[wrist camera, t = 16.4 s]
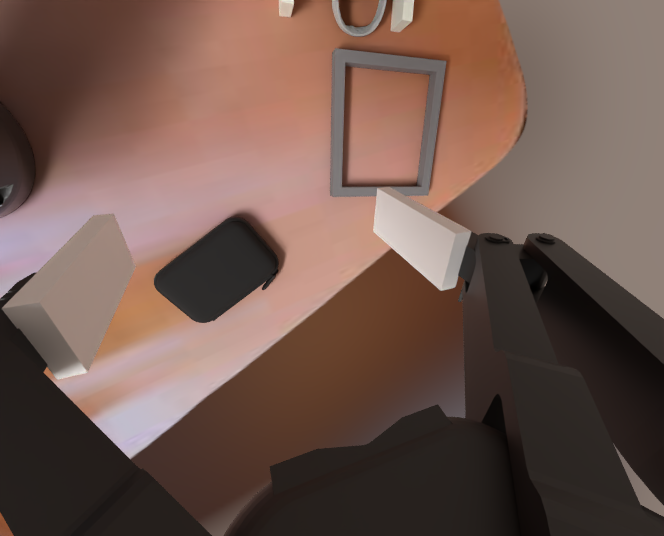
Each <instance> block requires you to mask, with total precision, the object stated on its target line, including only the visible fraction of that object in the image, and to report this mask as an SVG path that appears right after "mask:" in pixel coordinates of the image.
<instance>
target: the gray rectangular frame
mask: <svg viewBox="0 0 664 536" xmlns="http://www.w3.org/2000/svg"><path fill="white" fill-rule="evenodd" d="M345 66H348V67H358V68H368V69H378V70H388V71H398V72H407V73H417V74H427V75H430V78H429V87H428V95H427V103H426V111H425V120H424V128H423V136H422V145H421V153H420V161H419V169H418V178H417V186H342V161H343V126H344V91H345ZM445 69H446V61H441V60H433V59H424V58H415V57H407V56H398V55H389V54H381V53H372V52H363V51H355V50H346V49H337V48H335V50H334V51H333V52H332V102H331V172H330V196H332V197H356V196H377V188H383V187H390V188H392V189H394V190H396V191H398V192H400V193H401V194H403V195H405V196H424V195H428V193H429V186H430V178H431V171H432V164H433V156H434V149H435V142H436V134H437V127H438V120H439V113H440V105H441V98H442V91H443V83H444V76H445Z"/></svg>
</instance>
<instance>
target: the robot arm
mask: <svg viewBox="0 0 664 536" xmlns="http://www.w3.org/2000/svg"><path fill="white" fill-rule="evenodd" d="M34 178H35V163H34V157H33V153H32V150H31V147H30V144H29V142H28V140H27V137H26V136H25V134H24V132H23V130H22V129H21V127H20V125H19V124H18V123H17V121H16V120H15V118H14V117H13V116H12V115H11V113H10V112H9V111H8V110H7V109H6V108H5V107H4V106H3V105H2V104H1V103H0V218H1V217H3V216H5V215H7V214H9V213H11V212H13V211H14V210H16V209H17V208H18V207H19V206H20V205H21V204H22V203H23V202H24V201H25V200H26V198H27V197H28V195H29V193H30V192H31V189H32V187H33V183H34ZM373 232H374V233H375V234H377V235H378V236H379V237H380V238H381V239H382V240H383V241H385V242H386V243H387V244H388V245H389V246H390V247H391V248H393V249H394V250H395V251H396V252H397V253H398V254H399V255H401V256H402V257H403V258H404V259H405V260H406V261H408V262H409V263H410V264H411V265H412V266H413V267H414V268H415V269H417V270H418V271H419V272H420V273H421V274H422V275H424V276H425V277H426V278H427V279H428V280H429V281H430V282H432V283H433V284H434V285H435V286H436V287H438V289H440V290H441V291H442V290H446V289H450V288H455V286H456V283H457V279H458V276H460V277H461V278H463V279H464V280H465V281H464V284H463V287H462V290H461V294H460V297H459V300H458V301H459V302H461V300H462V299H463V333H464V371H465V410H466V416H465V418H460V417H446V415H445V414H444V412H443V411H442V410H441V408H440V407H439V405H435V406H432V407H429V408H427V409H424V410H421V411H419V412H416V413H413V414H411V415H408V416H405V417H402V418H401V419H400V420H398V421H397V422H396V423H395V424H393V425H392V426H391V427H390V428H388V429H387V430H386V431H384V432H383V433H382V434H381V435H379V436H378V437H377V438H375V439H374V440H373V441H372V442H370V443H369V444H367V445H362V446H349V447H337V448H324V449H316V450H313V451H310V452H308V453H305V454H303V455H300V456H297V457H294V458H291V459H289V460H286V461H283V462H281V463H278V464H275V465H273V466H270V471H271V478H272V482H271V483H270V484H268V485H267V486H265V487H264V488H263V489H261V490H260V491H259V492H258V493H257V494H256V495H255V496H254V497H253V498H252V499H251V500H250V501H249V502H248V503H247V504H246V505H245V506H244V508H243V509H242V510H241V511H240V512H239V514H238V515H237V516H236V518H235V519H234V520H233V522H232V523H231V524H230V526H229V528H228V529H227V531H226V533H225V534H224V536H664V517H663V516H661V515H659V514H657V513H655V512H653V511H651V510H649V509H648V508H646V507H644V506H642V505H640V503H639V501H638V498H637V496H636V494H635V492H634V489H633V487H632V485H631V483H630V480H629V478H628V476H627V474H626V472H625V469H624V467H623V465H622V462H621V460H620V458H619V456H618V454H617V452H616V449H615V447H614V445H615V446H616V448H617V449H618V450H619V452H620V453H621V455H622V456H623V457H624V459H625V460H626V461H627V463H628V464H629V465H630V467H631V468H632V469H633V471H634V472H635V473H636V474H637V475H638V476H639V478H640V479H641V480H642V481H643V482H644V484H645V485H646V486H647V487H648V488H649V490H650V491H651V492H652V493H653V494H654V495H655V497H656V498H657V499H658V500H659V501H660V502H661V503H662V504H663V505H664V319H663V318H662V317H660V316H659V315H658V314H656V313H655V312H654V311H653V310H651V309H650V308H649V307H647V306H646V305H645V304H643V303H642V302H641V301H640V300H638V299H637V298H636V297H634V296H633V295H632V294H631V293H629V292H628V291H627V290H625V289H624V288H623V287H621V286H620V285H619V284H618V283H616V282H615V281H614V280H612V279H611V278H610V277H609V276H607V275H606V274H605V273H603V272H602V271H601V270H599V269H598V268H597V267H596V266H594V265H593V264H592V263H590V262H589V261H588V260H587V259H585V258H584V257H582V256H581V255H580V254H579V253H577V252H576V251H575V250H574V249H572V248H571V247H570V246H568V245H567V244H566V243H565V242H563V241H562V240H560V239H558V238H556V237H553V236H552V235H549V234H545V233H543V234H539V233H538V234H537V233H535V234H529V235H528V236H527V238H526V241H525V243H524V244H521V245H520V244H513V242H512V241H511V240H510V239H509V238H507V237H504V236H502V235H499V234H494V233H492V234H491V233H484V234H480V235H477V234H475V233H473V232H471V231H470V230H468V229H466V228H465V227H463V226H461V225H459V224H457V223H455V222H453V221H451V220H450V219H448V218H446V217H444V216H442V215H440V214H439V213H437V212H435V211H433V210H431V209H429V208H427V207H426V206H424V205H422V204H420V203H418V202H416V201H414V200H413V199H411V198H409V197H407V196H405V195H403V194H401V193H400V192H398V191H396V190H394V189H392V188H390V187H383V188H377V197H376V208H375V219H374V230H373ZM135 267H136V266H135V263H134V261H133V258H132V256H131V254H130V251H129V249H128V247H127V244H126V242H125V239H124V237H123V235H122V232H121V230H120V228H119V225H118V223H117V220H116V218H115V216H114V214H106V215H96V216H93V217H92V218H91V219H90V220H89V221H88V222H87V223H86V224H85V225H84V226H83V227H82V228H81V229H80V230H79V231H78V232H77V233H76V234H75V235H74V236H73V237H72V238H71V239H70V240H69V241H68V242H67V243H66V244H65V245H64V246H63V247H62V248H61V249H60V250H59V251H58V252H57V253H56V254H55V255H54V256H53V257H52V258H51V259H50V260H49V261H48V262H47V263H46V264H45V265H44V266H43V267H42V268H41V269H40V270H39V271H38V272H37V273H33V274H31V275H29V276H27V277H26V278H24V279H22V280H20V281H19V282H17V283H16V284H15V285H14V286H13V287H12V288H11V289H10V290H9V291H8V293H6V294H5V295H4V296H3V297H2V298H1V299H0V512H1V514H2V516H3V517H4V519H5V521H6V523H7V525H8V526H9V528H10V530H11V532H12V533H13V535H14V536H212V535H211V534H210V533H209V532H207V530H206V529H205V528H204V527H203V526H202V525H201V524H200V523H198V521H196V520H195V519H194V518H193V517H192V516H191V515H190V514H189V513H188V512H187V511H186V510H185V509H184V508H183V507H182V506H181V505H180V504H179V503H178V502H177V501H176V500H175V499H174V498H173V497H172V496H171V495H170V494H169V493H168V492H167V491H166V490H165V489H164V488H163V487H162V486H161V485H160V484H159V483H158V482H157V481H156V480H155V479H154V478H153V477H152V476H151V475H150V474H149V473H148V472H146V471H145V470H144V469H140V468H138V467H137V466H136V465H135V464H134V463H133V462H132V461H131V460H130V459H129V458H128V457H127V456H126V455H125V454H124V453H123V452H122V451H121V450H120V449H119V448H118V447H117V446H116V445H115V444H114V443H113V442H112V441H111V440H110V439H109V438H108V437H107V436H106V435H105V434H104V433H103V432H102V431H101V430H100V429H99V428H98V427H97V426H96V425H95V424H94V423H93V422H92V421H91V420H90V419H89V418H88V417H87V416H86V415H85V414H84V413H83V412H82V411H81V410H80V409H79V408H78V407H77V406H76V405H75V404H74V403H73V402H72V401H71V400H70V399H69V398H68V397H67V396H66V395H65V394H64V393H63V392H62V391H61V390H60V389H59V388H58V387H57V386H56V385H55V384H54V383H53V382H52V381H51V380H50V379H49V378H48V377H47V376H46V375H45V374H44V373H43V372H44V370H45V369H46V367H48V368H49V370H50V371H51V372H52V373H53V375H54V376H55V377H56V379H57V380H58V379H62V378H66V377H70V376H75V375H79V374H83V373H88V371H89V368H90V366H91V364H92V362H93V360H94V357H95V355H96V353H97V351H98V349H99V346H100V344H101V342H102V340H103V338H104V335H105V333H106V331H107V329H108V327H109V324H110V322H111V320H112V318H113V316H114V313H115V311H116V309H117V307H118V305H119V302H120V300H121V298H122V296H123V294H124V291H125V289H126V287H127V285H128V283H129V280H130V278H131V276H132V274H133V272H134V269H135ZM547 280H548V281H547ZM546 282H547V284H546ZM545 284H546V286H544V285H545ZM613 443H614V445H613Z"/></svg>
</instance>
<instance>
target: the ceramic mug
mask: <svg viewBox="0 0 664 536" xmlns="http://www.w3.org/2000/svg"><path fill="white" fill-rule="evenodd" d="M386 1H387V0H379V4H378V8H377V12H376V15H375V17H374V19H373V21H372V22H371V24H369V25H368V26H365V27H354V26H346V25H345V23H344V22H343V20H342V18H341V13H340V9H339V2H338V0H332V8H333V12H334V16H335V19H336V22H337V24H338V25H339V27H340V28H341V30H343V31H344V32H345V33H347V34H349V35H351V36H356V37H361V36H366V35H368V34H370V33H372V32H373V31H374V30H375V29H376V27H377V26H378V24H379V22H380V21H381V19H382V16H383V14H384V10H385V7H386Z"/></svg>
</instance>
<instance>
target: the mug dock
mask: <svg viewBox="0 0 664 536" xmlns="http://www.w3.org/2000/svg"><path fill="white" fill-rule="evenodd" d="M293 6H294V0H279V16H284V17H291V13H292V9H293ZM413 7H414V0H393V5H392V18H391V31H394V32H401V31H402V30H403V29H404V28H405V27H406V26H408V25H409V24H410V23H411V22H412V18H413Z"/></svg>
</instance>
